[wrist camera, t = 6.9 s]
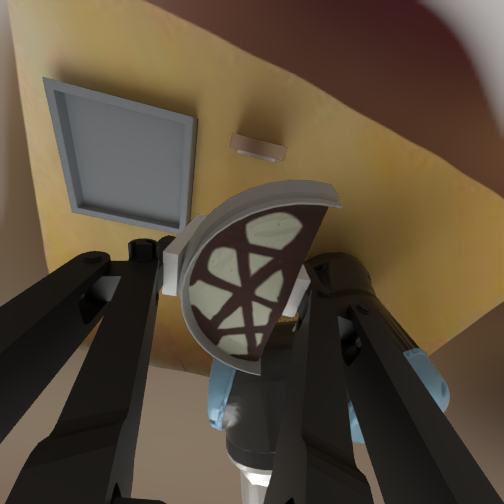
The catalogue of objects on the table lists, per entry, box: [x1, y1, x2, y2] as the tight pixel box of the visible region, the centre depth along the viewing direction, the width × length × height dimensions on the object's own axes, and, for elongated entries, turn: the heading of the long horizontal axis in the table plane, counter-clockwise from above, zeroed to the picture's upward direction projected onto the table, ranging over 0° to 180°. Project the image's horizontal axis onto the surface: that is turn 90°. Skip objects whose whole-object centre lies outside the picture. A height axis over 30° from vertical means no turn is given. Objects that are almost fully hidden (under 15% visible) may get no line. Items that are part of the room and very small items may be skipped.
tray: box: [42, 77, 198, 235], centre depth 29 cm, size 18×17×2 cm
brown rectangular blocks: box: [230, 133, 287, 162], centre depth 29 cm, size 7×16×5 cm, turn 167°
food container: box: [179, 180, 343, 375], centre depth 14 cm, size 12×6×10 cm, turn 165°
